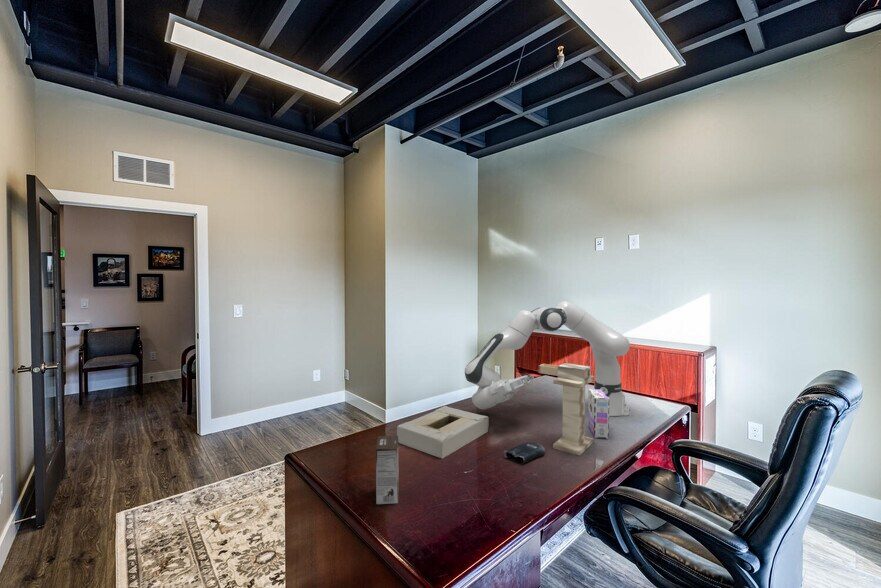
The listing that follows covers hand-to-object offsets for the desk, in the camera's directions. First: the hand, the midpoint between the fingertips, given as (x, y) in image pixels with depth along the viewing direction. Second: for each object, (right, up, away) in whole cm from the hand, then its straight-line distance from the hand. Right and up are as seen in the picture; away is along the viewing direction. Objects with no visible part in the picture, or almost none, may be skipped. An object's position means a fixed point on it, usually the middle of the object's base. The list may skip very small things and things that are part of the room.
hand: (527, 379), depth 160 cm
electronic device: (-5, -24, -20) cm, 31 cm away
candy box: (+30, -22, +1) cm, 37 cm away
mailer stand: (+15, -23, -12) cm, 30 cm away
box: (-35, -23, -3) cm, 42 cm away
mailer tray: (+11, +4, -10) cm, 15 cm away
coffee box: (-52, -24, -46) cm, 73 cm away
